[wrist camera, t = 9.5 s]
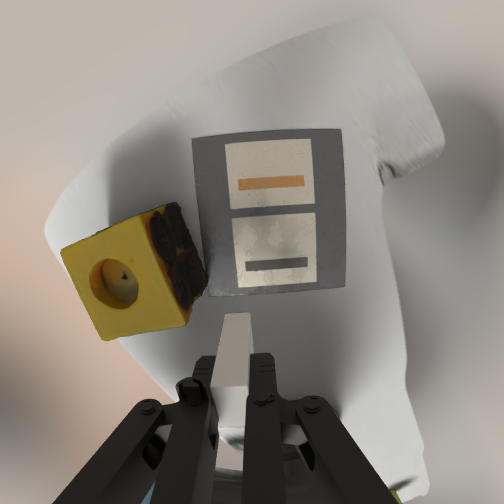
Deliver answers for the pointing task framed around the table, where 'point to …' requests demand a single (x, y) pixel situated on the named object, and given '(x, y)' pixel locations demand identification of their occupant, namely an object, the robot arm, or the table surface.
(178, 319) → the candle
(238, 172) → the label plate
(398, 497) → the plant pot
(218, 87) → the table surface
